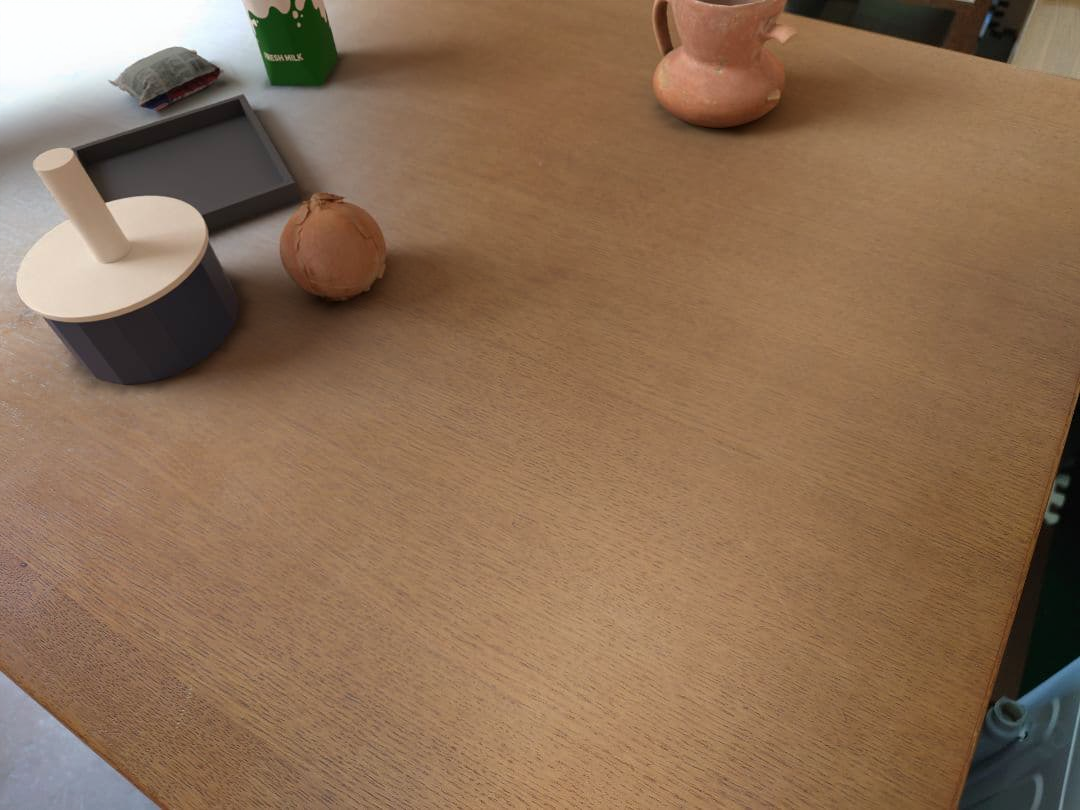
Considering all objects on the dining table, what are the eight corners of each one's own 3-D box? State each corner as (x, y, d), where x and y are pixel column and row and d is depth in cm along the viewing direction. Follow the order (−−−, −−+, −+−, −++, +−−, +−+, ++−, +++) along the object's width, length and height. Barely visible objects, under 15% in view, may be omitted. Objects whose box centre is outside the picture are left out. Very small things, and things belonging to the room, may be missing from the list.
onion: (342, 285, 79) (313, 186, 75) (417, 282, 75) (390, 176, 70) (276, 318, 72) (240, 210, 67) (355, 317, 67) (321, 201, 63)
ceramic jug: (816, 107, 88) (845, -26, 77) (731, 162, 82) (749, 28, 71) (695, 55, 97) (706, -70, 86) (612, 102, 91) (612, -26, 80)
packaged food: (118, 100, 100) (99, 63, 96) (200, 64, 105) (185, 27, 101) (149, 124, 96) (130, 87, 92) (233, 86, 101) (218, 48, 97)
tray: (80, 168, 91) (68, 149, 89) (251, 113, 96) (243, 93, 94) (107, 273, 78) (94, 252, 76) (302, 202, 83) (294, 182, 81)
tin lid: (17, 245, 69) (-60, 143, 61) (190, 186, 73) (139, 83, 65) (33, 355, 60) (-55, 252, 52) (230, 281, 64) (176, 174, 56)
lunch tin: (71, 310, 75) (19, 241, 68) (219, 256, 79) (183, 185, 72) (92, 411, 66) (35, 343, 60) (257, 345, 70) (220, 274, 63)
